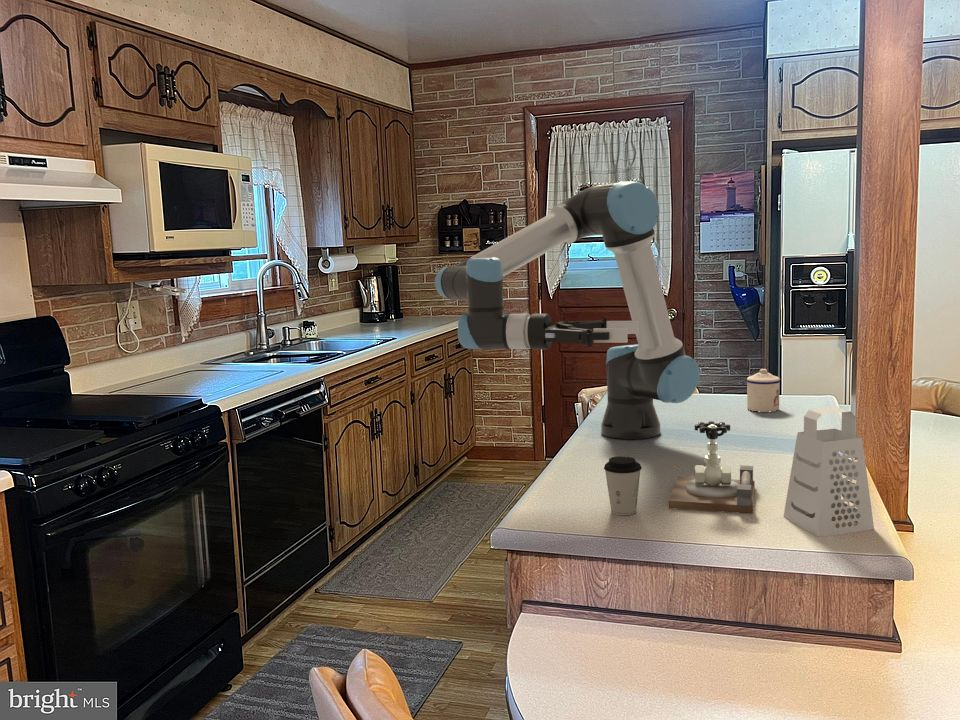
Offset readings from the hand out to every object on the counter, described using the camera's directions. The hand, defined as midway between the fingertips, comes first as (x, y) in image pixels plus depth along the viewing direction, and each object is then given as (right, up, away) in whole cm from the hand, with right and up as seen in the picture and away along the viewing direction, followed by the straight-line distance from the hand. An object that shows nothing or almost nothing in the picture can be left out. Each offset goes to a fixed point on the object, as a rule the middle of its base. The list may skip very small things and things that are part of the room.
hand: (633, 331), depth 165 cm
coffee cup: (-4, -34, -11) cm, 36 cm away
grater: (+30, -34, -21) cm, 50 cm away
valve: (+14, -30, -6) cm, 34 cm away
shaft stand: (+14, -32, -5) cm, 36 cm away
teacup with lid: (+50, -20, +71) cm, 89 cm away
